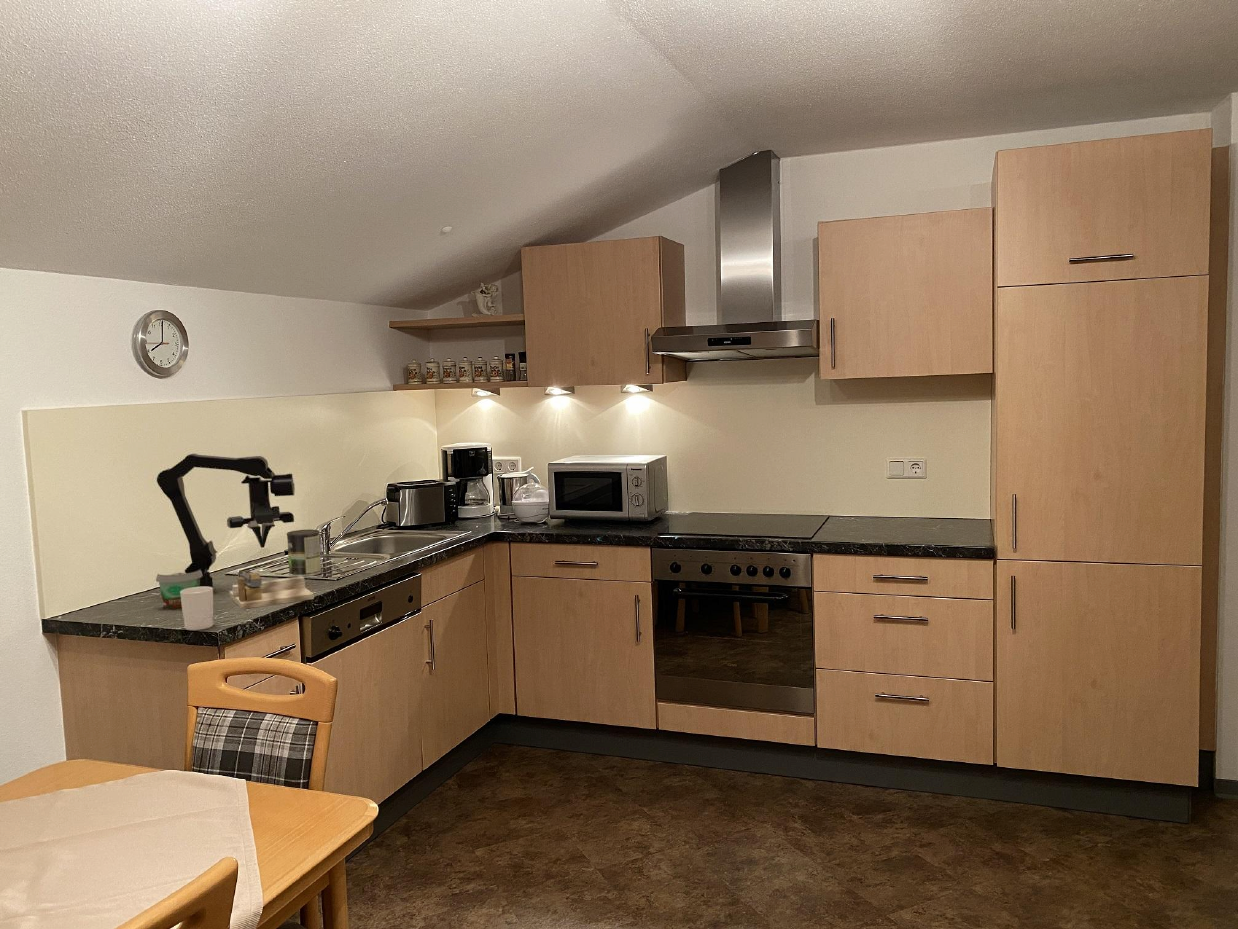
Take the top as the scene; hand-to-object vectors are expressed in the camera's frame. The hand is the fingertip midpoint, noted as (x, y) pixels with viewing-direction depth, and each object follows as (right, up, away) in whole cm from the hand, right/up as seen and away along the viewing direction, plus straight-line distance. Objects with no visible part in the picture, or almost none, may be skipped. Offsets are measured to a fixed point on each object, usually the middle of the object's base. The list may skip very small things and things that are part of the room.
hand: (262, 547), depth 294 cm
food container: (-16, -16, -20) cm, 30 cm away
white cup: (0, -17, -43) cm, 47 cm away
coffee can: (+6, -11, +23) cm, 26 cm away
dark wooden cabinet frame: (+2, -9, -15) cm, 17 cm away
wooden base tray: (+7, -14, -11) cm, 19 cm away
